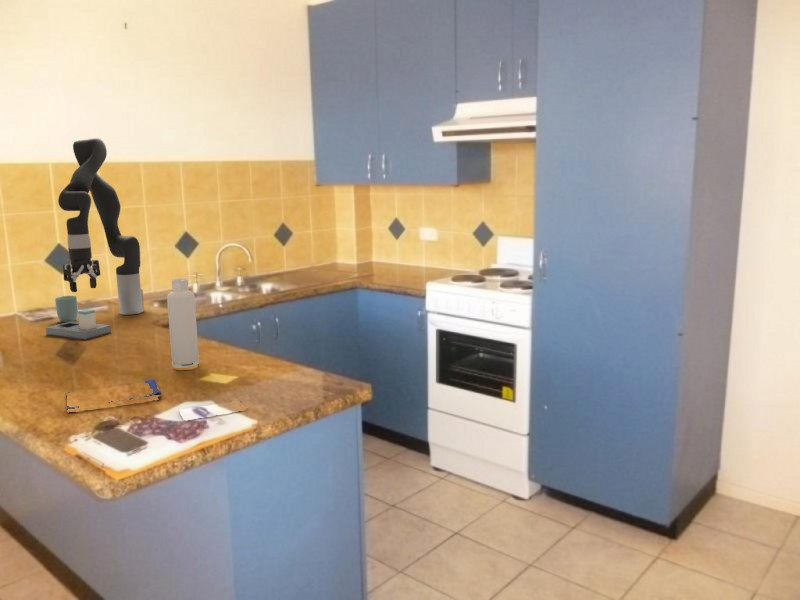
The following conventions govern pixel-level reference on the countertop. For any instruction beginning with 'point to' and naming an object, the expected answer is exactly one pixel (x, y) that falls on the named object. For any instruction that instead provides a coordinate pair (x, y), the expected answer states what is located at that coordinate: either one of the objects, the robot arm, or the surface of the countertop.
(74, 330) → the panel
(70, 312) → the cup
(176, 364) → the bottle
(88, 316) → the plug
